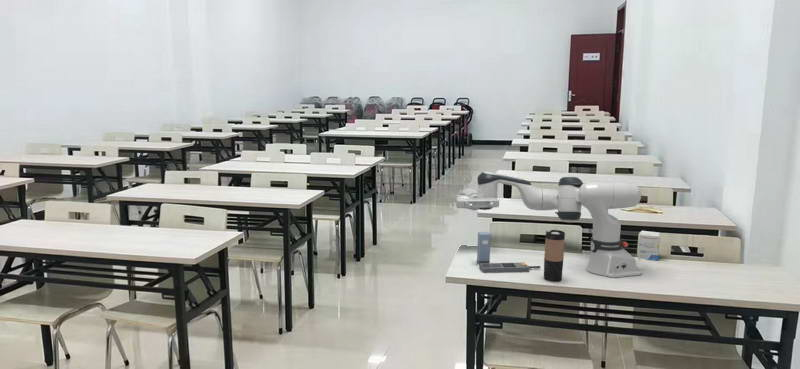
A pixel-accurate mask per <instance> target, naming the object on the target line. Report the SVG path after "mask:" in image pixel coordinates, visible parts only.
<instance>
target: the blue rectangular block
mask: <svg viewBox="0 0 800 369" xmlns="http://www.w3.org/2000/svg"><path fill="white" fill-rule="evenodd" d="M491 238H492V236H491V233H490V232H489V231H478V232H477V251H476V264H477V265H478V264H479V263H490V257H491V256H490V255H491Z"/></svg>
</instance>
